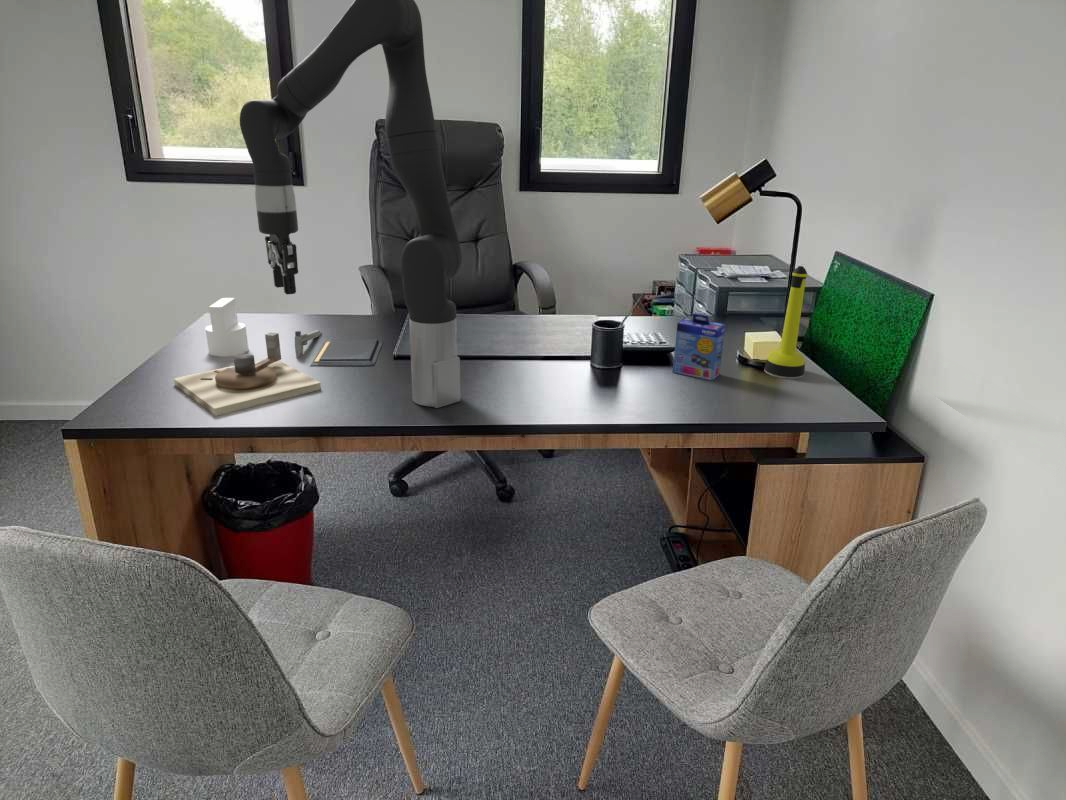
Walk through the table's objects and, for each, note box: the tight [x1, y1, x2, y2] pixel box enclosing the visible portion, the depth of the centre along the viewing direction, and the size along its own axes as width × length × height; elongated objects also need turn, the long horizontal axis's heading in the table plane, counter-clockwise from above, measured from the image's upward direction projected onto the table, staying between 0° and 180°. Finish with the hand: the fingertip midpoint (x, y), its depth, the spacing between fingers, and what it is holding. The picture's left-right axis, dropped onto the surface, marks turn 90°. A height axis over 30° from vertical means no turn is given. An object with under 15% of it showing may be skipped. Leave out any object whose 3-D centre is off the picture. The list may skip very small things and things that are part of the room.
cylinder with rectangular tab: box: [204, 297, 249, 358], centre depth 172 cm, size 9×9×12 cm
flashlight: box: [763, 265, 808, 380], centre depth 164 cm, size 25×9×9 cm
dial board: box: [173, 358, 322, 417], centre depth 151 cm, size 22×22×2 cm
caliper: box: [294, 329, 322, 358], centre depth 179 cm, size 21×1×6 cm, turn 2°
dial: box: [215, 332, 282, 389], centre depth 152 cm, size 17×12×7 cm
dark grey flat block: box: [309, 338, 384, 368], centre depth 174 cm, size 20×2×15 cm
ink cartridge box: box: [672, 313, 726, 381], centre depth 163 cm, size 10×6×14 cm, turn 59°
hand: (285, 290), depth 149 cm, fingers open, 6 cm apart
